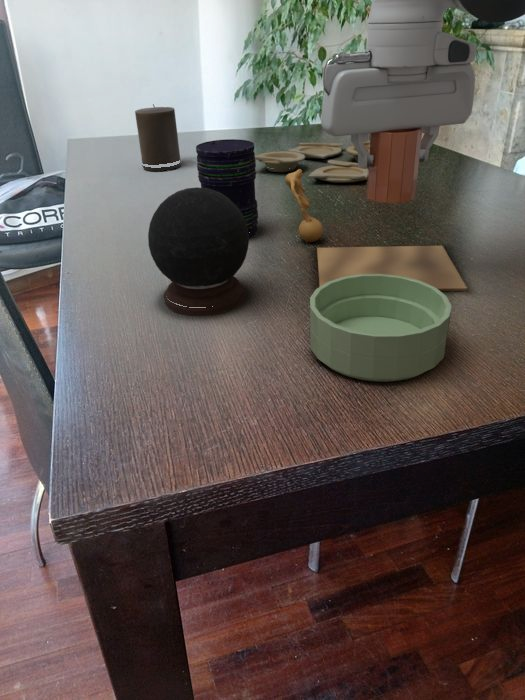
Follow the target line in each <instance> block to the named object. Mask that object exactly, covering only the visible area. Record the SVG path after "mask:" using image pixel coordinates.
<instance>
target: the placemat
mask: <svg viewBox="0 0 525 700" xmlns="http://www.w3.org/2000/svg"><path fill="white" fill-rule="evenodd" d="M316 256H317V270H318V283H319V285H318V287H320V286H322V285H323V284H325V283H327V282H329V281H332V280H335V279H338V278H341V277H346V276H352V275H359V274H388V275H397V276H403V277H407V278H411V279H415V280H419V281H422V282H424V283H426V284H429V285H431V286H433V287H435V288H437V289H438V290H439V291H441V292H467V291H468V286H467V285H466V283H465V282H464V280H463V279H462V277H461V275H460V273H459V271H458V270H457V268H456V266H455V265H454V263H453V261H452V260H451V258H450V256H449V255H448V253H447V251H446V249H445V247H444V246H443V245H401V246H399V245H398V246H397V245H395V246H393V245H391V246H390V245H389V246H346V247H345V246H341V247H340V246H339V247H337V246H336V247H335V246H334V247H332V246H331V247H330V246H329V247H316Z"/></svg>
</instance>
